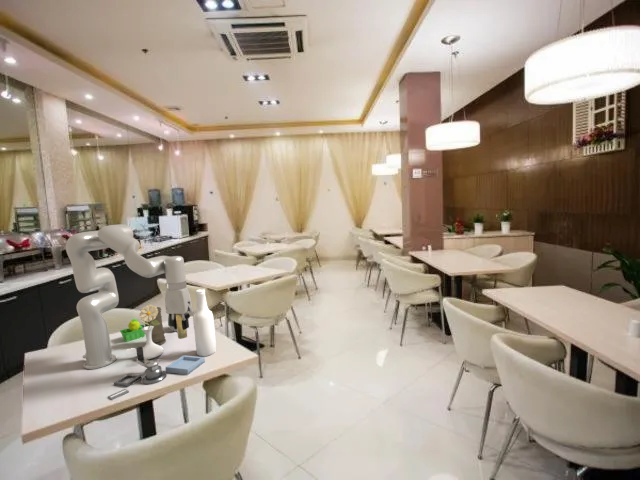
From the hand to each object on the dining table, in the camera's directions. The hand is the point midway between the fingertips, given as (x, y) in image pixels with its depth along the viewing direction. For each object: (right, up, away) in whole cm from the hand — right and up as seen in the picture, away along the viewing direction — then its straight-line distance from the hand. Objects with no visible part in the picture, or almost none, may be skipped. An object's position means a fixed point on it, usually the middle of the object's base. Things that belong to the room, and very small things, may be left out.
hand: (181, 327), depth 144 cm
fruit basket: (-41, -16, +39) cm, 59 cm away
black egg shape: (-21, -14, +49) cm, 55 cm away
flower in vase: (-20, -17, +15) cm, 30 cm away
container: (-25, -16, +30) cm, 42 cm away
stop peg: (0, -4, 0) cm, 4 cm away
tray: (+1, -17, +2) cm, 17 cm away
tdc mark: (-17, -20, -17) cm, 31 cm away
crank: (-12, -14, -4) cm, 19 cm away
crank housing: (-13, -19, -7) cm, 24 cm away
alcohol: (+6, -16, +15) cm, 22 cm away
